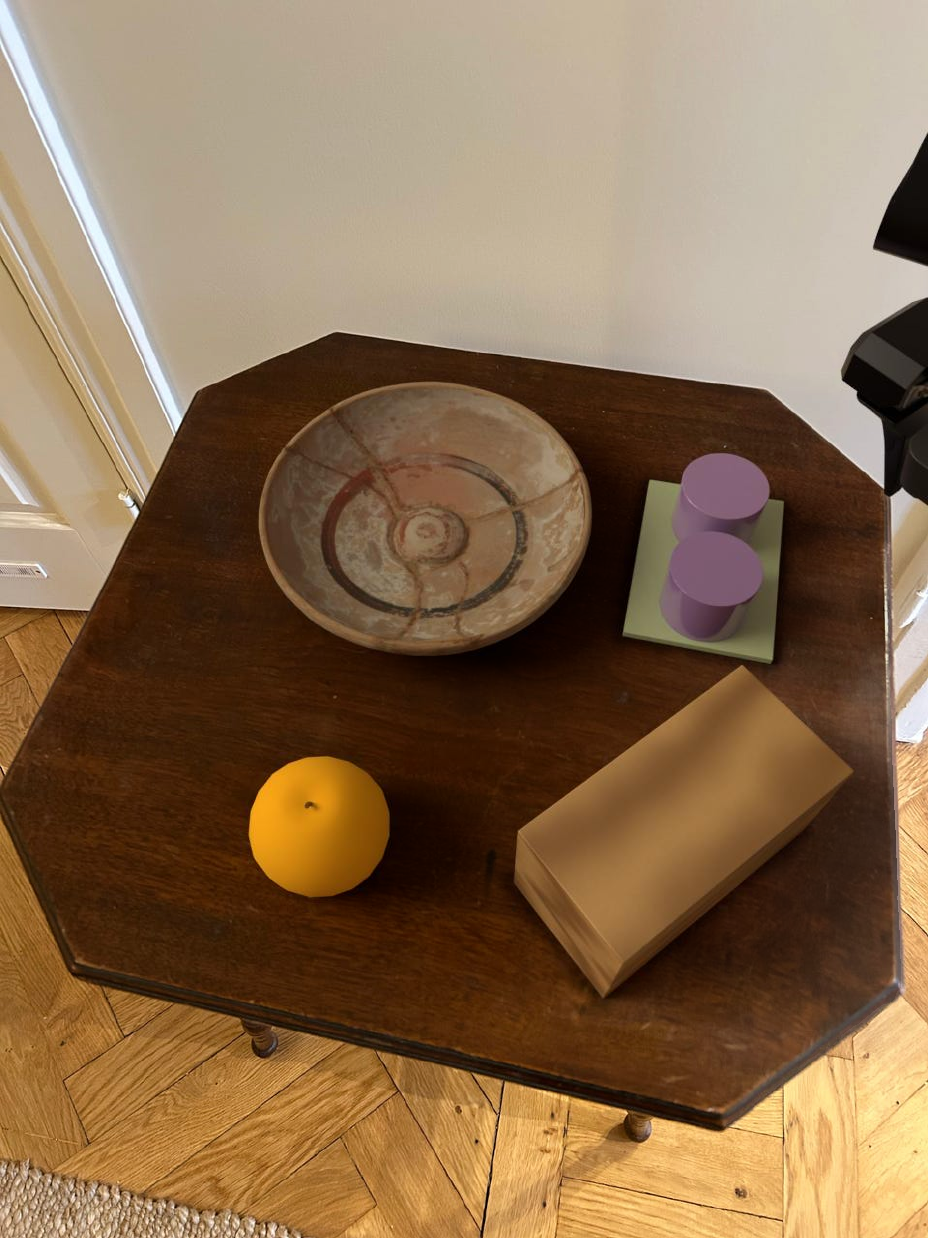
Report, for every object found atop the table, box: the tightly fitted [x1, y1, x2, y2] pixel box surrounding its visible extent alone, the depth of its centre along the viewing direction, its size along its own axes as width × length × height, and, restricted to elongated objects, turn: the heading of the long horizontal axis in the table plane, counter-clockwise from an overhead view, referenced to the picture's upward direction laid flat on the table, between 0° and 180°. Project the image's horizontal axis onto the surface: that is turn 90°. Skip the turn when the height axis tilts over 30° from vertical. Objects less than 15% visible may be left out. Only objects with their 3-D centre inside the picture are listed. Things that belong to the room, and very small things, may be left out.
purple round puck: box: [659, 531, 763, 642], centre depth 61 cm, size 6×6×4 cm
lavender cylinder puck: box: [671, 452, 771, 545], centre depth 65 cm, size 6×6×4 cm
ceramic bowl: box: [258, 381, 593, 657], centre depth 65 cm, size 23×24×5 cm
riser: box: [513, 664, 855, 999], centre depth 50 cm, size 8×16×9 cm, turn 126°
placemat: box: [622, 479, 785, 665], centre depth 65 cm, size 14×10×1 cm
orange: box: [248, 755, 390, 898], centre depth 52 cm, size 8×8×8 cm
